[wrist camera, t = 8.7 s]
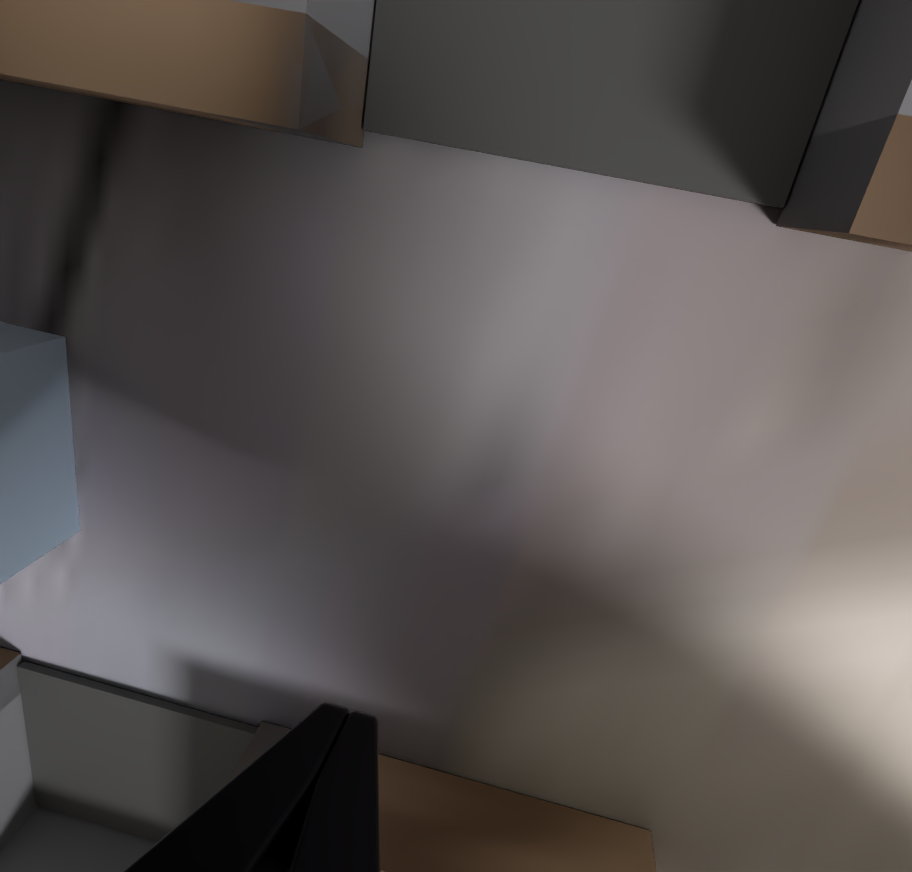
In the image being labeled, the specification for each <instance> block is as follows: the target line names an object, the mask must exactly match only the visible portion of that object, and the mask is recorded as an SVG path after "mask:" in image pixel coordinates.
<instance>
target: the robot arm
mask: <svg viewBox="0 0 912 872" xmlns="http://www.w3.org/2000/svg"><path fill="white" fill-rule="evenodd" d="M123 872H381V870H380V819H379V768H378V722H377V718H376V717H375V716H373V715H370V714H366V713H363V712H359V711H352V712H351V713H350V712H349V710H348V709H347V708H345V707H342V706H339V705H335V704H332V703H327V702H326V703H323V704H321V705H320V706H318V707H317V708H316V709H315V710H314V711H312V712H311V713H310V714H309V715H308V716H306V717H305V718H304V719H303V720H302V721H301V722H299V723H298V724H297V725H296V726H295V727H293V728H292V729H291V730H290V731H289V732H287V733H286V734H285V735H284V736H283V737H282V738H280V739H279V740H278V741H277V742H276V743H274V744H273V745H272V746H271V747H270V748H269V749H267V750H266V751H265V752H264V753H263V754H261V755H260V756H259V757H258V758H257V759H256V760H254V761H253V762H252V763H251V764H250V765H248V766H247V767H246V768H245V769H244V770H242V771H241V772H240V773H239V774H238V775H237V776H235V777H234V778H233V779H232V780H231V781H229V782H228V783H227V784H226V785H225V786H224V787H222V788H221V789H220V790H219V791H218V792H216V793H215V794H214V795H213V796H212V797H211V798H209V799H208V800H207V801H206V802H205V803H203V804H202V805H201V806H200V807H199V808H197V809H196V810H195V811H194V812H193V813H192V814H190V815H189V816H188V817H187V818H186V819H184V820H183V821H182V822H181V823H180V824H179V825H177V826H176V827H175V828H174V829H173V830H171V831H170V832H169V833H168V834H167V835H166V836H164V837H163V838H162V839H161V840H160V841H158V842H157V843H156V844H155V845H154V846H153V847H151V848H150V849H149V850H148V851H147V852H145V853H144V854H143V855H142V856H141V857H139V858H138V859H137V860H136V861H135V862H134V863H132V864H131V865H130V866H129V867H128V868H126V869H125V870H124V871H123Z"/></svg>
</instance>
